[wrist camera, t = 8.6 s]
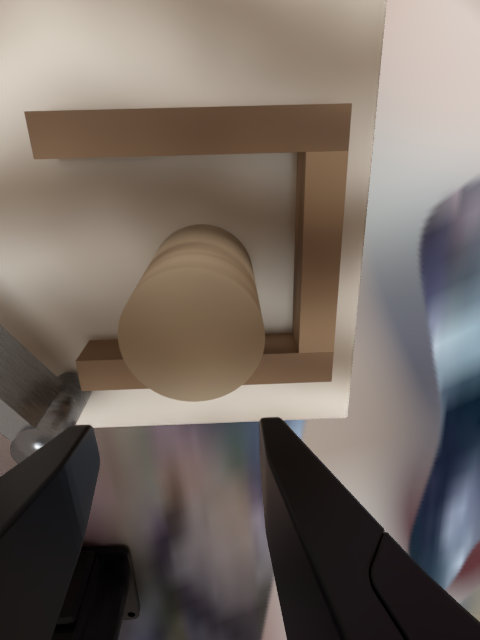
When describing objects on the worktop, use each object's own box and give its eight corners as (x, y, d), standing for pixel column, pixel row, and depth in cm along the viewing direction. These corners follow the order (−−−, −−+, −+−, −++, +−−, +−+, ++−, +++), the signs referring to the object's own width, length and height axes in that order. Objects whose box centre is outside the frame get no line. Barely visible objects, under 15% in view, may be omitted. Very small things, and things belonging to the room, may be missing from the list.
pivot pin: (253, 318, 20) (265, 399, 14) (157, 321, 19) (128, 404, 14) (252, 222, 18) (265, 267, 12) (147, 225, 18) (107, 272, 12)
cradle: (342, 406, 23) (358, 443, 20) (25, 418, 23) (-3, 458, 20) (390, -145, 14) (430, -213, 11) (-129, -138, 14) (-218, -207, 11)
